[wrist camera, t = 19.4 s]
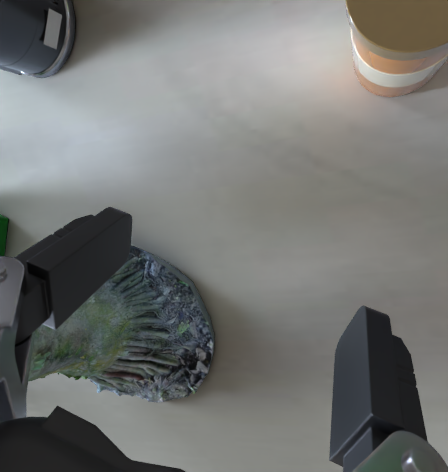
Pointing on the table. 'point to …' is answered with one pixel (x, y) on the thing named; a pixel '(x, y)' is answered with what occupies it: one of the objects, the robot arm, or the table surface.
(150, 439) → the table surface
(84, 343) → the tree stump
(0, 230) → the milk carton
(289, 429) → the table surface
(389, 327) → the robot arm
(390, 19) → the honey jar
